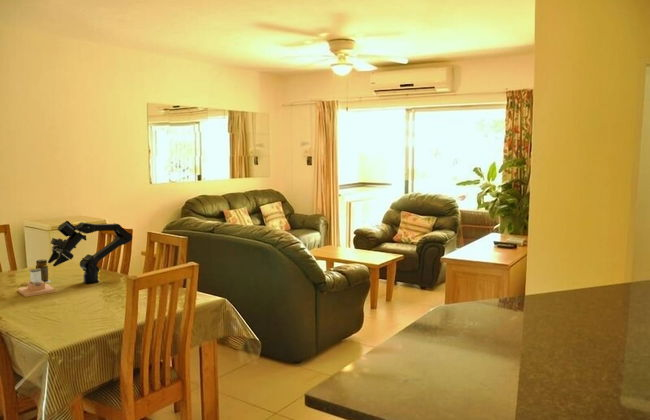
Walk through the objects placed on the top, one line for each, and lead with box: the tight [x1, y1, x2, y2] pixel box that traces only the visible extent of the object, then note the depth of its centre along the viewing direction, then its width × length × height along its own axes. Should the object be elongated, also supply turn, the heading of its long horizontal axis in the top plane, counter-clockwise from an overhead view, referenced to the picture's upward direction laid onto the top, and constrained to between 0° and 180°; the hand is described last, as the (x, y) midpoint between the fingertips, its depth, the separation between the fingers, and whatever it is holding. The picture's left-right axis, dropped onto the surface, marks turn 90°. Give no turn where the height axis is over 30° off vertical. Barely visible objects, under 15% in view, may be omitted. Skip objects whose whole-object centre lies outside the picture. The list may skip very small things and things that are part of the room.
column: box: [29, 268, 42, 284], centre depth 263 cm, size 5×4×10 cm
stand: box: [17, 280, 56, 298], centre depth 263 cm, size 14×14×5 cm
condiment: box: [35, 259, 52, 284], centre depth 282 cm, size 7×8×12 cm
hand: (50, 264), depth 267 cm, fingers open, 9 cm apart
